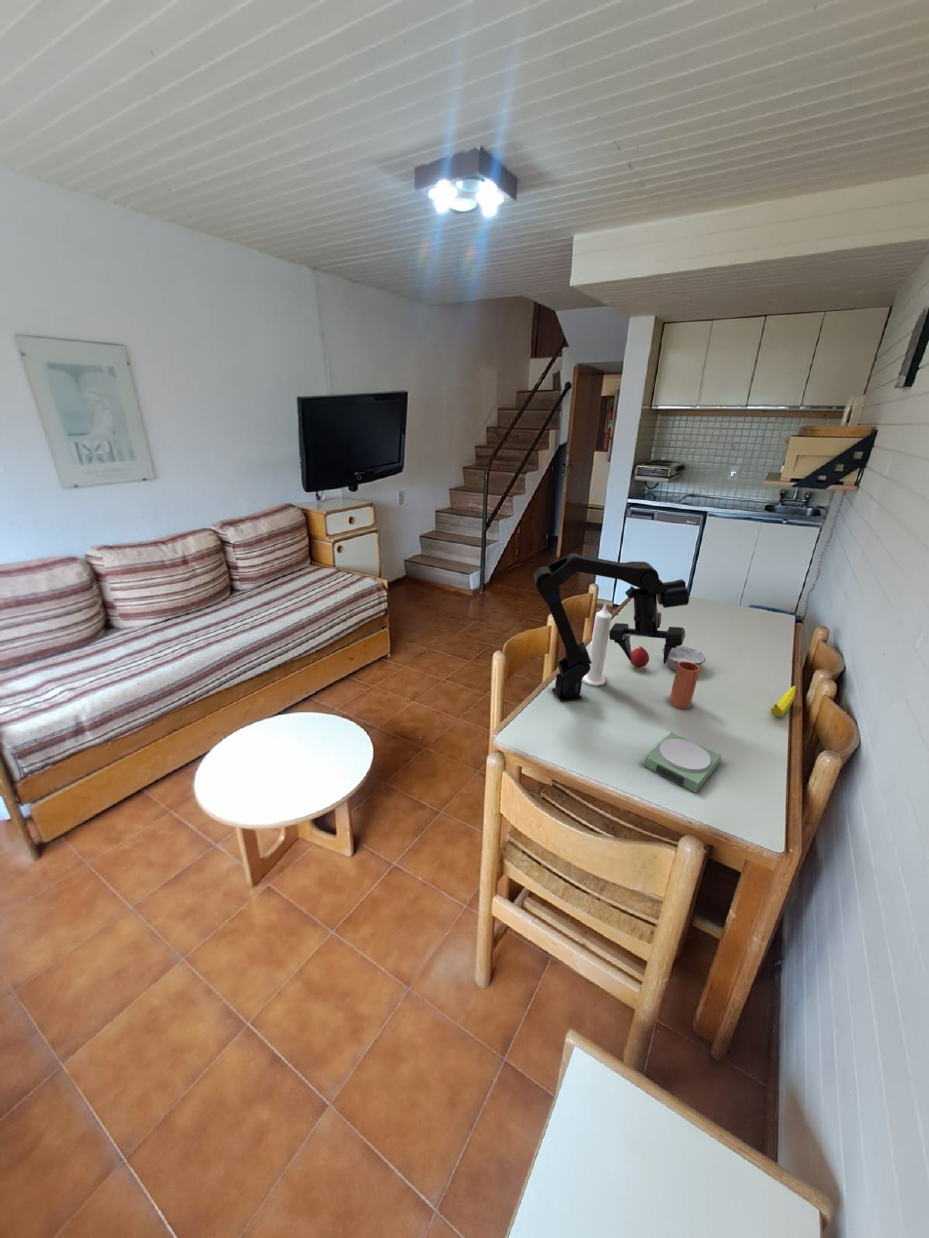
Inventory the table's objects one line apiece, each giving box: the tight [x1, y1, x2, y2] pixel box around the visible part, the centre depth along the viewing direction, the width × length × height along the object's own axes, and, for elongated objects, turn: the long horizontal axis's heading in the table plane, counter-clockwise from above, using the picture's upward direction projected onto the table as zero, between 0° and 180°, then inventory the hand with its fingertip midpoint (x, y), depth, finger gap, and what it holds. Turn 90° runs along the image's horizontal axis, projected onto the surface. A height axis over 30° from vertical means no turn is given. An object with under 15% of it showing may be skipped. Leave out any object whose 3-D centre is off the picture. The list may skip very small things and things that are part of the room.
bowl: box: [661, 645, 707, 671], centre depth 159 cm, size 13×13×5 cm
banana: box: [770, 685, 797, 718], centre depth 136 cm, size 3×19×6 cm, turn 134°
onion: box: [629, 645, 650, 670], centre depth 157 cm, size 6×6×8 cm
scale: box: [643, 731, 722, 793], centre depth 114 cm, size 14×12×3 cm
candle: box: [581, 603, 613, 687], centre depth 145 cm, size 7×7×25 cm
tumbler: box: [668, 661, 701, 710], centre depth 137 cm, size 6×6×12 cm
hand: (647, 661), depth 136 cm, fingers open, 9 cm apart
